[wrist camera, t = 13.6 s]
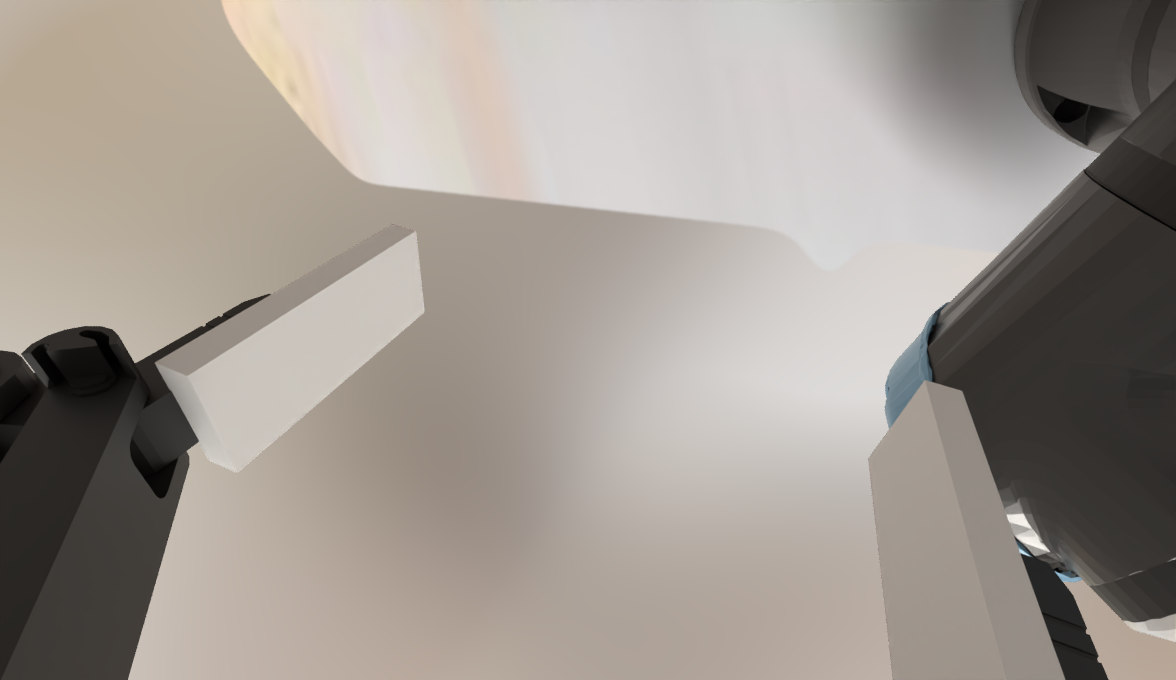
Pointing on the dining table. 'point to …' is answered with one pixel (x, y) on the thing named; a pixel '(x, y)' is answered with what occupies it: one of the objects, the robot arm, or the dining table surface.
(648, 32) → the dining table surface
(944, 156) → the dining table surface
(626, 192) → the dining table surface
